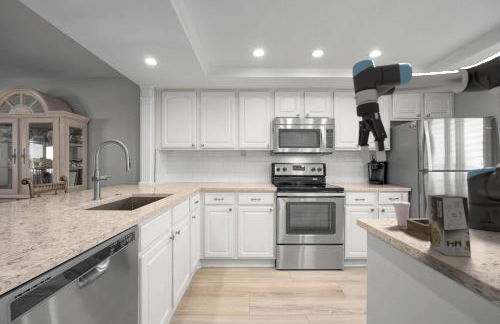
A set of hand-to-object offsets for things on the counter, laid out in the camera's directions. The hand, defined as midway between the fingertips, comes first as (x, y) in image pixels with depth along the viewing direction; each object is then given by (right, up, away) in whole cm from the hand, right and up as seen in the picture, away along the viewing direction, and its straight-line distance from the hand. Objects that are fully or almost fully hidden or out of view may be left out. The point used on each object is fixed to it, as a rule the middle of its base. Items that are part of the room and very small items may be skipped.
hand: (373, 162), depth 91 cm
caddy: (+22, -26, +1) cm, 34 cm away
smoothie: (+20, -27, +16) cm, 38 cm away
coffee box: (+14, -26, -18) cm, 34 cm away
